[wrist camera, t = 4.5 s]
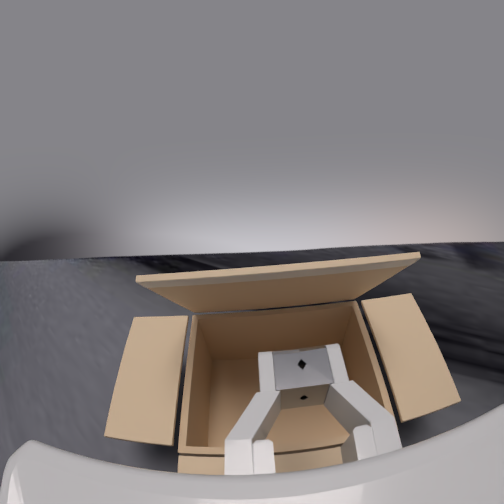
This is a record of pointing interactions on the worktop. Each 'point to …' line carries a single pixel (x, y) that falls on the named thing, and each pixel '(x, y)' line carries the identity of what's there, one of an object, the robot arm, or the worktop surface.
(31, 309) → the worktop surface
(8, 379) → the worktop surface
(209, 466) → the carton box
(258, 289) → the flap
